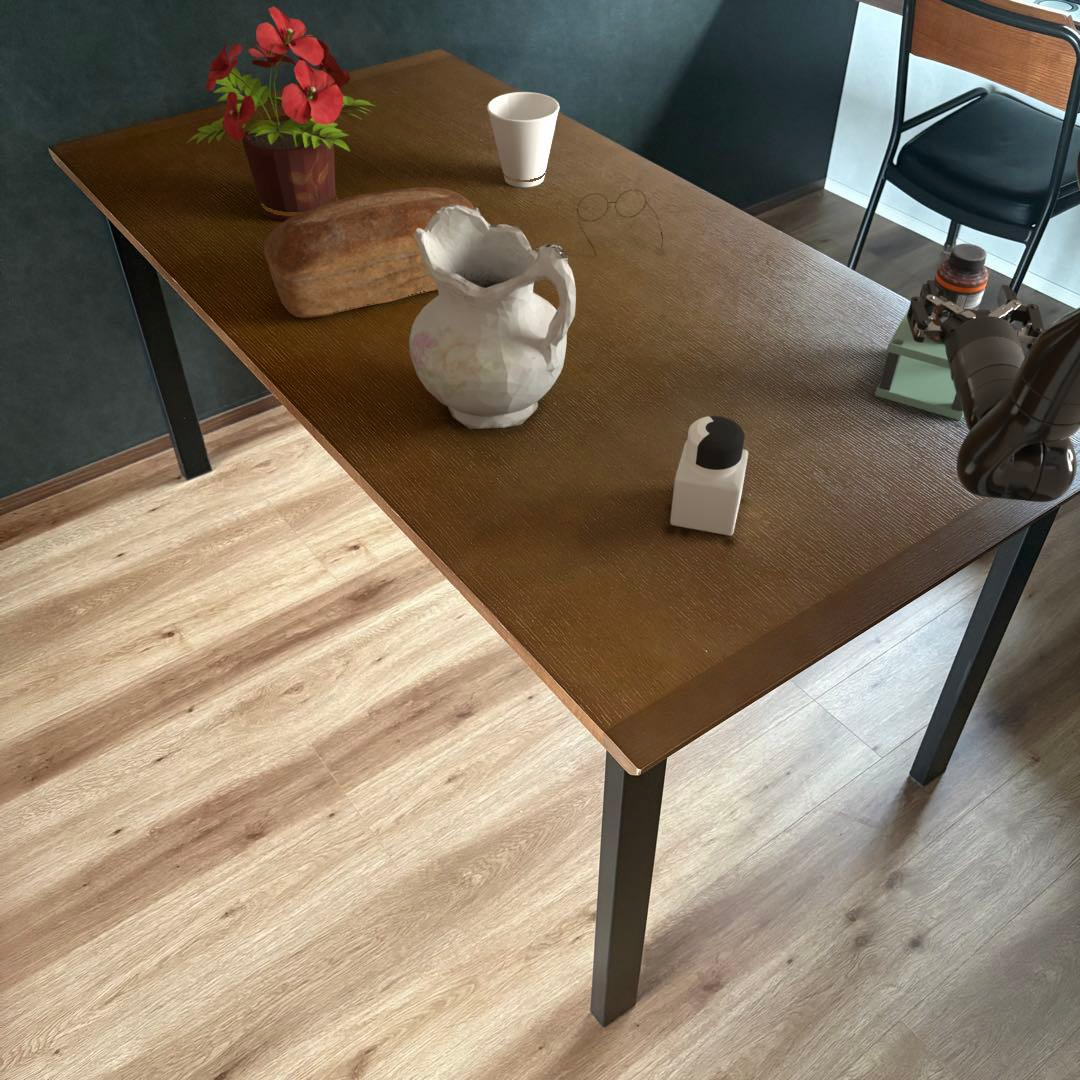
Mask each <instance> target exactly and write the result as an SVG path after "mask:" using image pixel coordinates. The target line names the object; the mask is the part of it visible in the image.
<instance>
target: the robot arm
mask: <svg viewBox="0 0 1080 1080" xmlns="http://www.w3.org/2000/svg"><path fill="white" fill-rule="evenodd" d="M1075 165H1076V167H1075V177H1076V181H1077V186H1078V189H1079V190H1080V150H1079V151H1078V154H1077V158H1076V164H1075ZM996 297H997V298H996V302H997V305H998V308H997V309H995V310H994V311H990V309H978V310H971V309H963V308H961V307H959V306H958V305H956V304H955V303H953V302H951V301H946V302H944V301H943V300H941V299H940V298H938V293H937V289H936V285H935V281H934V280H933V279H932V280H931V279H927V281H926V283H923V284H922V286H921V289H920V292H919V296H915V295H914V296H912V297H911V298H910V302H909V308H908V309H909V310H907V311H908V313H907V312H906V313H907V320H908V323H909V326H910V329H911V332H912V335H913V338H914V341H916V342H919V343H922V342H924V341H925V338H926V337H939V339H940V340H941V341H942V342H943V343H944V344H945V349H946V355H947V359H948V363H949V367H950V371H951V380H952V381H953V383H954V387H955V391H956V393H957V395H958V397H959V399H960V401H961V405H962V410H963V414H964V415H963V417H964V421H965V424H966V427H967V430H968V433H967V435H966V436H965V437H964V440H963V441H962V443H961V445H960V447H959V451H958V453H957V457H956V474H957V477H958V480H959V483H960V485H962V486H963V488H964V490H966V491H967V492H969V493H970V494H972V495H974V496H978V497H983V498H992V499H1002V500H1003V499H1004V500H1015V501H1025V502H1032V503H1033V502H1034V503H1035V502H1036V503H1047V502H1051V501H1055V500H1058V499H1059V498H1061V497H1063V496H1064V495H1065V494H1066V493H1067V492H1068V491H1069V490H1070V488H1071V487H1072V485H1073V483H1074V481H1075V478H1076V475H1077V467H1078V465H1077V464H1078V462H1077V454H1076V451H1075V447H1074V444H1073V442H1072V440H1071V439H1070V437H1072V436H1073V435H1074V434H1076V433H1077V432H1078V431H1079V430H1080V306H1079V307H1077V308H1075V309H1074V310H1072V311H1070V312H1067V313H1066V314H1064V315H1063V316H1061V317H1059V318H1058V319H1055V321H1053V322H1052V323H1050V324H1049V325H1048V326H1047V327H1046V328H1045V326H1044V322H1043V319H1042V316H1041V310H1040V308H1039V306H1038V305H1037V304H1035V303H1029V304H1027V306H1026V305H1022V301H1020V300H1018V298H1017V294H1016V292H1015V290H1013V289H1011V288H1010V286H1009V284H1001V285H1000V287H999V291H998V293H997V296H996ZM935 308H937V310H938V312H937V314H936V313H935V312H934V309H935ZM949 313H951V314H953V315H951V316H950V317H949V318H948V316H949ZM1016 322H1019V323H1020V324H1021V330H1019V329H1018V327H1017V326H1015V325H1014V324H1015V323H1016ZM1021 344H1025V346H1026V348H1027V349H1028V351H1027V353H1026V355H1025V354H1024V350H1023V348H1022V345H1021Z"/></svg>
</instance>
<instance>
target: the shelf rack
mask: <svg viewBox="0 0 1080 1080" xmlns="http://www.w3.org/2000/svg"><path fill="white" fill-rule="evenodd" d="M908 310H909V308H908ZM908 310H907V311H906V313H905V315H904V316H903V318H902V320H901V322H900V323H899V325H898V327H897V328H896V330H895V332H894V333H893V335H892V337H891V339H890V341H889V343H888V345H887V348H886V352H887V354H886V355H887V356H886V360H885V363H884V367H883V371H882V375H881V379H880V381H879V384H878V386H877V388H876V390H875V393H874V396H875V397H878V398H881V399H886V400H889V401H892V402H895V403H898V404H902V405H905V406H909V407H913V408H916V409H919V410H923V411H926V412H930V413H933V414H937V415H939V416H942V417H943V416H944V417H946V418H949V419H954V420H957V421H962V420H963V417H964V414H963V410H962V405H961V401H960V399H959V397H958V395H957V393H956V391H955V387H954V383H953V381H952V380H951V371H950V367H949V363H948V359H947V355H946V349H945V344H944V343H943V342H940V341H936V340H934V339H932V338H930V337H926V338H925V341H924V342H922V343H919V342H916V341H914V338H913V335H912V332H911V329H910V326H909V323H908V320H907V313H908Z"/></svg>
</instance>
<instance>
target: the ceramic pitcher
mask: <svg viewBox="0 0 1080 1080" xmlns="http://www.w3.org/2000/svg"><path fill="white" fill-rule="evenodd" d="M436 213H437V214H435V215H434V216H433V217H432V218H431V219H430V221H429V222H428V224H427V226H426V228H425V229H423V230H422V229H421V228H417V230H416V232H415V237H414V238H415V239H416V240H417V242H418V244H419V248H420V252H421V256H422V258H423V261H424V264H425V267H426V268H427V270H428V272H429V274H430V276H431V277H432V279H433V280H434V281H435V283H436V285H437V288H438V290H437V292H438V295H437V296H436V297H433V298H432V300H431V301H429V302H428V303H426V305H425V306H423V307H422V309H421V310H420V312H419V313H418V314H417V315H416V317H415V319H414V321H413V323H412V326H411V330H410V334H409V335H410V336H409V339H408V345H409V354H410V359H411V362H412V364H413V367H414V370H415V373H416V376H417V377H418V379H419V381H420V382H421V384H422V385H423V387H424V388H425V389H426V391H427V392H429V393H430V394H431V395H432V396H433V397H434V398H435V399H436V400H437V401H438V402H439V403H441V404H442V405H444V406H446V407H447V408H448V410H449V412H450V414H451V417H452V418H453V419H455V421H457V422H459V423H460V424H462V425H463V426H465V427H466V428H467V429H469V430H474V429H476V430H478V429H505V428H509V427H515V426H521V425H522V424H524V423H525V422H526V421H527V420H528V419H529V418H530V417H531V416H532V415H533V414H534V413H535V412H536V411H537V410H538V408H539V401H540V400H541V399H542V398H544V396H545V395H546V394H547V393H549V391H550V390H551V389H552V387H553V386H554V384H555V383H556V381H557V380H558V378H559V376H560V375H561V373H562V370H563V367H564V363H565V358H566V352H567V338H568V335H567V334H568V331H569V328H570V326H571V325H572V322H573V321H574V318H575V316H576V305H577V289H576V283H575V282H576V281H575V277H574V273H573V270H572V268H571V267H570V265H569V262H568V258H569V255H568V254H567V253H565V252H564V249H563V248H562V247H561V246H560V245H556V244H550V243H547V244H544V245H541V246H536V247H535V250H534V249H532V246H531V244H530V243H529V240H528V239H527V237H526V235H525V234H524V233H523V231H522V230H521V229H520V228H519V226H512V225H509V224H506V223H505V224H491V223H488V221H487V220H485V218H484V216H482V214H481V212H480V210H479V208H478V207H475V210H472V209H469V208H467V207H465V206H459V205H456V204H453V205H451V204H450V205H448V206H446V207H445V206H443V207H442V208H441V209H439V210H438V211H437V212H436ZM559 248H560V249H559ZM540 280H541V281H542V280H547V281H549V282H551V283H552V284H554V287H555V289H556V292H557V294H558V299H559V305H558V307H557V309H556V307H554V306H553V304H552V303H550V302H549V301H548V300H547V299H545V298H544V297H542V296H540V295H539V294H537V293H535V292H534V285H535V282H538V281H540Z"/></svg>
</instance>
